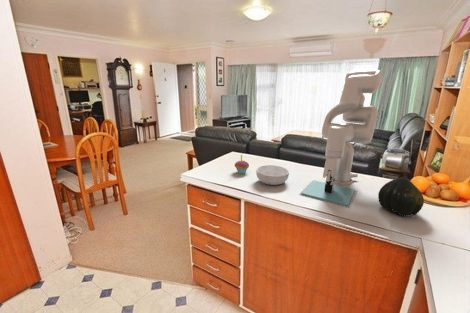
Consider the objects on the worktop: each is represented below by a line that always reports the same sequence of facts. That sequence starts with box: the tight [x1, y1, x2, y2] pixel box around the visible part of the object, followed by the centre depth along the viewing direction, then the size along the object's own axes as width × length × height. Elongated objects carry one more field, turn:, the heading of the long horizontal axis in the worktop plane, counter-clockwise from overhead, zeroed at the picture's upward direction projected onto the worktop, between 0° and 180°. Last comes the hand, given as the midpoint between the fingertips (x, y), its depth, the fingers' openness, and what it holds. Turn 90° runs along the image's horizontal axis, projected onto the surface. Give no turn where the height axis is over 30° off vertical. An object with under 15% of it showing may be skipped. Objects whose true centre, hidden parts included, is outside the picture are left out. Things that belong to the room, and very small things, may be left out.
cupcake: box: [234, 153, 250, 175], centre depth 137 cm, size 9×8×12 cm
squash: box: [377, 176, 425, 217], centre depth 95 cm, size 14×15×15 cm
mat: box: [298, 180, 358, 209], centre depth 112 cm, size 22×22×1 cm
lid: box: [300, 179, 356, 207], centre depth 111 cm, size 20×20×6 cm
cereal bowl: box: [255, 164, 290, 186], centre depth 123 cm, size 17×17×7 cm
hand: (329, 190), depth 111 cm, fingers closed on lid, 4 cm apart
